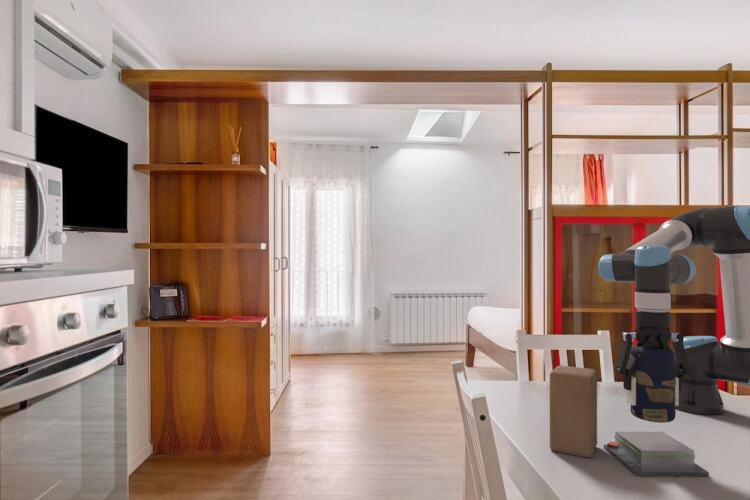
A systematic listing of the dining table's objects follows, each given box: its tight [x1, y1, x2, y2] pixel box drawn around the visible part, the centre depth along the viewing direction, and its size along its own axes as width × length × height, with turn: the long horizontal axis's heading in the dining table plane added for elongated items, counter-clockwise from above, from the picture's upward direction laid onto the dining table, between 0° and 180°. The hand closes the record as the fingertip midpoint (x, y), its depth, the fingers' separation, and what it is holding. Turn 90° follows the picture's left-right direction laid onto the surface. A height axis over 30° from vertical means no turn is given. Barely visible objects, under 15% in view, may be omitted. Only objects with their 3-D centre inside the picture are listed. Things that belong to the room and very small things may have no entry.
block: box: [549, 365, 598, 459], centre depth 125 cm, size 10×10×20 cm
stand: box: [603, 431, 710, 478], centre depth 118 cm, size 16×17×5 cm
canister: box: [629, 345, 677, 424], centre depth 118 cm, size 10×10×18 cm
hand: (652, 403), depth 118 cm, fingers closed on canister, 9 cm apart
